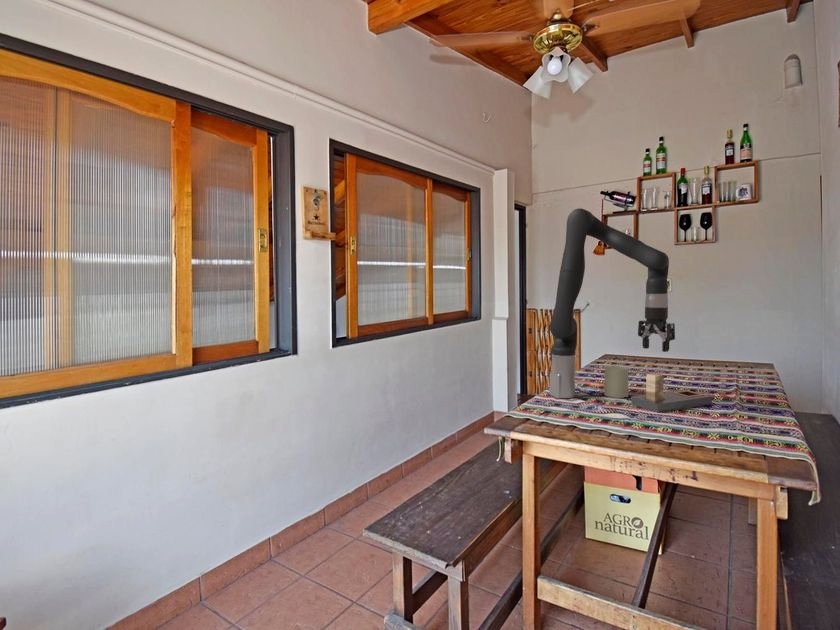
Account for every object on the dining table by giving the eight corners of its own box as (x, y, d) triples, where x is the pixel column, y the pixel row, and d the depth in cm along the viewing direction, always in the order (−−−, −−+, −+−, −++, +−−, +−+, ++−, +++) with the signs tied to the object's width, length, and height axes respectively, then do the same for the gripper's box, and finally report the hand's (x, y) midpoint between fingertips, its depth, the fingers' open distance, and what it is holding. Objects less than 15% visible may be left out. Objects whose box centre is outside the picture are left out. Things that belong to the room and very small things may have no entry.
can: (623, 392, 193) (624, 364, 192) (631, 398, 184) (632, 368, 183) (601, 392, 194) (601, 364, 193) (607, 398, 185) (608, 368, 184)
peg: (654, 408, 168) (655, 376, 167) (645, 406, 172) (646, 374, 171) (662, 407, 170) (663, 375, 169) (653, 404, 174) (654, 373, 173)
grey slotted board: (657, 412, 164) (657, 403, 163) (631, 404, 175) (631, 396, 175) (711, 404, 173) (712, 395, 173) (683, 396, 184) (683, 388, 184)
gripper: (633, 305, 173) (632, 348, 175) (665, 307, 160) (664, 353, 161) (648, 304, 176) (647, 346, 177) (681, 306, 163) (680, 351, 164)
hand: (655, 349), depth 169 cm, fingers open, 8 cm apart
